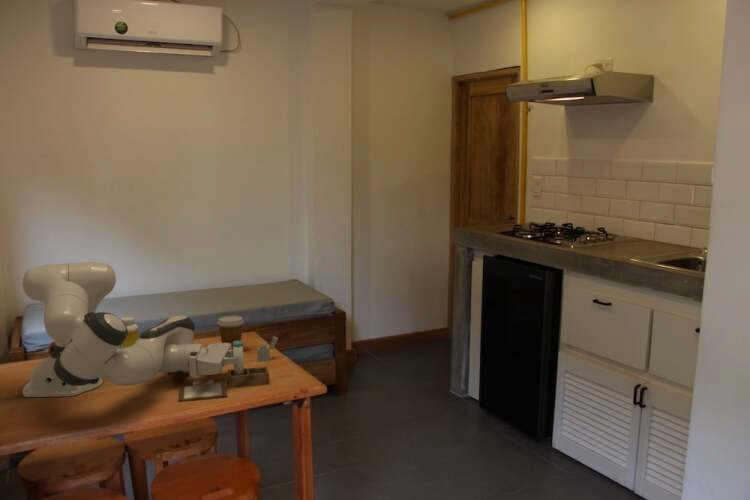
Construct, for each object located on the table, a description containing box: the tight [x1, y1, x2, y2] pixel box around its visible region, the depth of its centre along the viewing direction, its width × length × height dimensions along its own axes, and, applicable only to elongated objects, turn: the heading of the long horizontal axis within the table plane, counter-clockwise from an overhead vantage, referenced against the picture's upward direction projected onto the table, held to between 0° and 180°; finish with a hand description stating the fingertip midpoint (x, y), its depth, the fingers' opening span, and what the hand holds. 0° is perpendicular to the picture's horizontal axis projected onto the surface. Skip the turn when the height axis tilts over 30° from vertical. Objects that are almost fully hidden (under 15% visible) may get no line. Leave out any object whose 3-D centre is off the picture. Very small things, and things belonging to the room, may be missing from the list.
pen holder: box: [227, 366, 270, 389], centre depth 203 cm, size 12×7×4 cm, turn 105°
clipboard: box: [177, 379, 228, 403], centre depth 195 cm, size 14×12×2 cm
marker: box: [233, 340, 244, 376], centre depth 202 cm, size 3×3×14 cm
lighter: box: [256, 336, 279, 362], centre depth 224 cm, size 7×2×8 cm, turn 113°
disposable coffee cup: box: [217, 315, 245, 350], centre depth 234 cm, size 10×10×12 cm
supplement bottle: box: [119, 316, 140, 349], centre depth 231 cm, size 7×7×13 cm
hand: (241, 357), depth 201 cm, fingers open, 4 cm apart
